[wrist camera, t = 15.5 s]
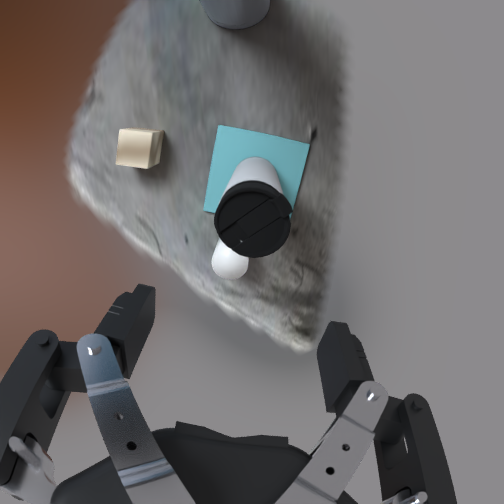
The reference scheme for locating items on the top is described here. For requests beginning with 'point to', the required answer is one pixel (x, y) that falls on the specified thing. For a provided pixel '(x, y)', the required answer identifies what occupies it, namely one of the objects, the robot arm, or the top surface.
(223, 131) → the teal mat
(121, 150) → the birch block
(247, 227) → the travel mug
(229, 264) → the white plastic capsule
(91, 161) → the top surface
